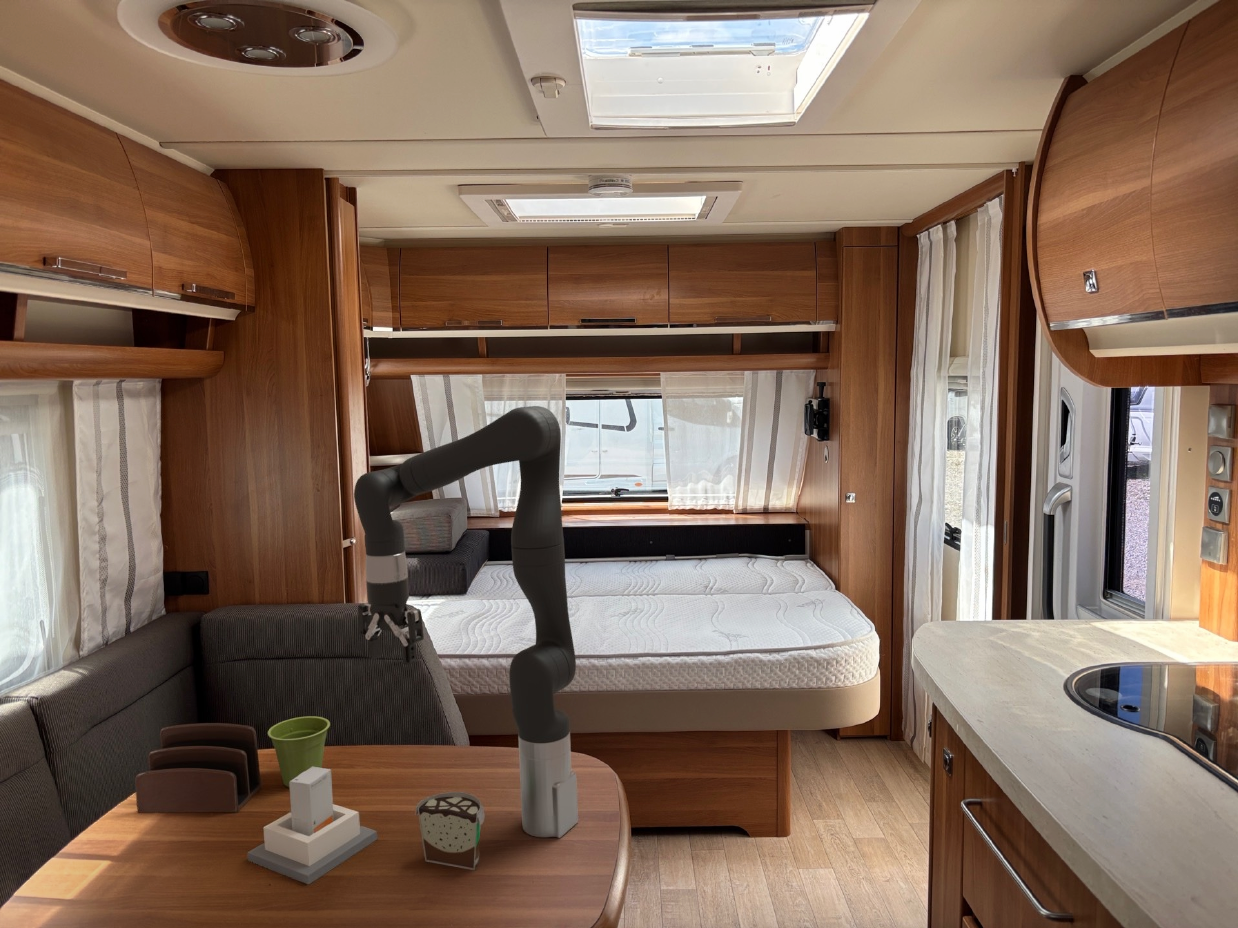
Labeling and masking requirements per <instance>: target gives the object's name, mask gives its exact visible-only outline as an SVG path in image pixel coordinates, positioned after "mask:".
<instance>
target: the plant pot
mask: <svg viewBox="0 0 1238 928" xmlns="http://www.w3.org/2000/svg"><path fill="white" fill-rule="evenodd" d="M330 726H331V722H330V720H328V719H327V718H324V717H323V716H314V715H313V716H310V715H309V716H299V717H294V718H290V719H286V720H283V721H280V722H278V723H276V724H274V725H273V726H271V727H270V728H269V730H268V731H267V736H268V737H269V738H270V739H271V742H272V747H274V751H275V754H276V758H277V759H276V760H277V761H278V763H277V764H278V767H279V770H280V771H279V772H280V775H281V780H282V784H283V785H284V786H285V787H287V788H290V786H289V782H290V781H291V780H293V779H294V778H296V777H297V776H298V775H299V774H301V773H302V772H304V771H306V770H308V769H309V768H311V767H319V768H323V760H324V753H325V752H324V750H325V743H326V739H327V734H328V729H329V728H330Z"/></svg>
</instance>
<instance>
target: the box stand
mask: <svg viewBox="0 0 1238 928" xmlns="http://www.w3.org/2000/svg"><path fill="white" fill-rule="evenodd" d="M333 815H334V822H332V823H331V824H329V825H327V826H326V827H324V828H322V829H321V830H319V831H317V832H316V833H314V834H312V835H311V836H306V835H303V834H300V833H298V832H295V831H292V819H291V811H289V812H288V813H287V814H285V815H283V816H281V817H278V819H276V820H274V821H273V822H271V823H269V824H267V825H265V826H264V827H263V839H264V842H263V843H262V844H260V845H258V846H256V847H254V848H253V849H251V850H249V851H248V852H247V853H246V854H247V861H248V862H250V861H251V862H250V863H252V862H253V864H255V863H256V865H257V864H258V865H257V866H260V867H262V866H264V867H263V868H265V869H267V868H268V870H270V871H273V872H274V873H275V872H276V873H278V874H280V875H284V876H285V875H286V876H285V877H288V878H290V877H291V878H290V879H293V880H296V881H299V882H301V883H304V884H306V885H310V884H311V883H313V882H314V881H316V880H317V879H319V878H320V877H323V876H325V875H326V873H328V872H330V871H331V870H333V869H334V868H336V867H337V866H340V864H342V863H343V862H345V861H346V860H348V859H350V858H351V857H353V856H354V855H356V854H357V853H359V852H360V851H362V850H363V849H365V848H366V847H368V846H369V845H371V844H372V843H374V842H376V840H378V831H377V830H374V829H372V828H369V827H366V826H363V825H360V812H359V811H356V810H353V809H350V808H347V807H344V806H340V805H338V804H334V803H333Z"/></svg>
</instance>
